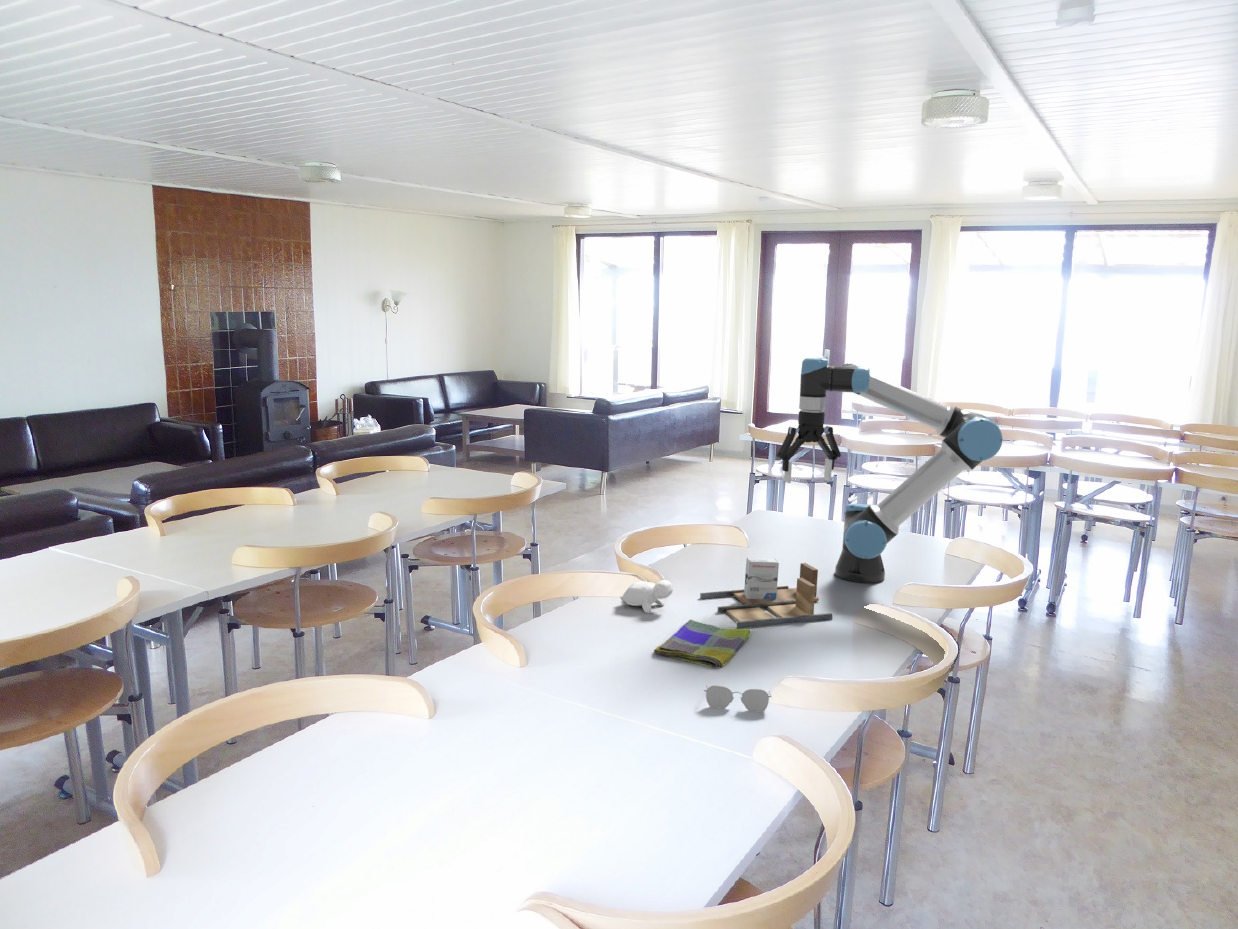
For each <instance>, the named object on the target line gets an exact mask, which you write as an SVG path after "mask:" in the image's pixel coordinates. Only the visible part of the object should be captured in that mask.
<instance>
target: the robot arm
mask: <svg viewBox="0 0 1238 929" xmlns="http://www.w3.org/2000/svg"><path fill="white" fill-rule="evenodd" d="M799 387H800V389H799V404H798V409H799V412H798V417H797V418H798V419H797V420H798V421H797V422H798V426H797V428H795V427H793V426H789V427H788V429H787V434H786V436H785V438H784V440H783V443H782V445H781V447H780V448H779V451H778V452H777V454H776V458H778V459H780V460H782V465H781V466H782V468H781V470H782V471H783V472H784V475H783V482H785V483H787V484H791V483H792V481H791V480H792V469H793V468H792V466H793V461H792V460H791V459H792V457H793V456H795V454H796V453H797V452H798V450H799V449H800V447H801V446H802V445H803V444H804V443H817V445H818V446H819V447H820V448H821V450H822V451H823V453H824V454H825V455H826V457H827V458H825V459H824V473H823V480H824V481H827V482H832V471H834V468H835V461H837V459H838V458H840V457H841V456H842V454H841V451H840V448H839V446H838V443H837V440H836V437H835V435H834V428H833V426H829V425H827V426H824V424H825V416H826V415H825V414H826V413H825V412H824V411H825V410H826V398H827V392H837V393H838V392H839V393H840V392H841V393H853V394H855V395H858V396H860V397H863V398H864V399H867V400H869V401H871V402H874V403H876V404H878V405H880V406H882V407H884V408H887V409H889V410H891V411H892V412H896V413H897V414H899V415H902V416H905V417H907V418H909V419H911V420H914V421H915V422H917V423H920V424H923V425H924V426H927V427H929V428H931V429H933V430H935V431H936V433H937V435H938V436H940V437H943V439H942V440H941V447H940V449H939V450H938V451H937V452H936V453H935V454H934V455H933V456H931V457H930V458H928V460H927V461H925V462H924V463H923V464H922V465H921V466H920V467H919V468H917V469H916V470H915V471H914V472H913V473H912V474H911V475H910V476H908V478H906V479H905V480H904V481H903V482H902V483H901V484H900V485H898V486H897V487H896V488H895V489H894V490H893V491H892V492H891V493H889V495H886V497H885V498H884V499H883V500H882V501H880V502H879V503H878V504H870V503H869V504H864V503H848V504H846V505H845V510H844V512H843V513H844V521H843V523H844V525H843V533H842V534H843V537H842V549H841V553H840V555H839V558H838V560H837V563H836V565H835V569H834V571H835V573H834V574H835V575H836V576H837V577H839V578H840V579H843V580H846V581H850V582H856V583H867V584H868V583H870V584H871V583H880V582H882V581H884V580H885V578H886V570H885V566H884V562H883V559H882V553H883V552H884V550H885V548H886V547H887V544H889V542H891V541H892V540H893V539H894V538H895V537H896V536H897V535H898V534H899V530H900V526H901V525H902V524H903V523H904V522H905V521H907V520H908V519H909V518H910V517H911V516H912V515H914V514H915V513H916V512H918V510H919V509H921V508H922V507H923V506H924V505H925V504H926V503H927V502H929V501H930V500H931V499H932V498H933V497H934V496H935V495H937V493H939V492H940V491H941V490H942V489H943V488H944V487H946V486H947V485H948V484H950V482H951V481H953V480H954V479H955V478H956V477H957V476H958V475H960V474H961V473H962V472H964V471H973V470H974V469H975V468H976V467H978V465H980V464H981V463H982V462H984V461H987V460H990V459H991V458H994V457H995V456H996V455H997V454H998V453H999V451H1000V450H1001V447H1002V445H1003V434H1002V431H1001V428H1000V427H999V425H998V424H997V422H995V421H994V420H993V419H991V418H989V417H987V416H986V415H983V414H980V413H977V412H973V411H969V410H966V409H963V408H961V407H958V406H955V405H950V406H947V405H945V404H942V403H940V402H938V401H935V400H933V399H931V398H929V397H926V396H924V395H922V394H920V393H917V392H915V391H913V390H911V389H908V388H906V387H904V386H901V385H899V384H897V383H894V382H892V381H890V380H887V379H886V378H883V377H881V376H879V375H876V374H874V373H873V372H871V371H870V368H869V367H866V366H861V365H859V366H857V365H855V364H854V363H844V364H842V365H839V366H838V365H830V364H829V360H828V359H827V358H815V357H810V358H809V357H807V358H806V357H805V359H803V360H802V362H801V372H800V386H799ZM823 434H825V437H826V440H827V442H828V444H827V443H826V440H825V438H824V437H823ZM796 435H797V437H796ZM795 437H796V438H795Z"/></svg>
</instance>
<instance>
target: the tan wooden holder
mask: <svg viewBox="0 0 1238 929" xmlns="http://www.w3.org/2000/svg"><path fill="white" fill-rule="evenodd" d="M799 565H800V566H799V578H803V579H805V580H807V581H808V582H810V583H812V584H814V585H815V601H814V602H819V601H820V598H819V597H818V596H817V590H818V572H819V570H818V569H817V568H815V567H813V566H812V565H811V564H809V563H807V562H801V563H800V564H799ZM796 590H797V587H793V588H791V587H790V588H788V589H778V590H777V595H776V599H747V598H746V597H745V595H744V592H743V593H734V596H733V597H734V598H736V599H737V600H739V601H740V602H741V603H743V604H754V603H766V602H777V601H788V600H796Z"/></svg>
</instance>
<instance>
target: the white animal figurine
mask: <svg viewBox="0 0 1238 929" xmlns="http://www.w3.org/2000/svg"><path fill="white" fill-rule="evenodd" d="M673 591H674V588H673V585H672V583H671V582H670V581H669V580H667V579H662V580H659V581H658V582H655V583H654V582H648V581H643V580H642V581H641V580H640V581H636V582H634V583H632V584H630V585H629V587H627V589H626V590H625V592H624V593H623V595H621V596H619V598H620V600H621V605H622V607H624V606H625V605H626V604H627V605H629V606H636V607H642V610H643V612H644V613H645V614H651V613H652V606H651V605H653V604H656V605H658V606H659V607H663V606H664V605H665V602H664V600H663V599H667V598H669V597H670V596H671V595H672V594H673Z"/></svg>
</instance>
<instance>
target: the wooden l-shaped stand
mask: <svg viewBox="0 0 1238 929" xmlns="http://www.w3.org/2000/svg"><path fill="white" fill-rule="evenodd" d="M796 588H797V590H796V604H790V605H779V606H768V607H767V610H768V611H769V612H770V613H772V614H773V615H775V616H776V617H777V618H782V617H793V616H803V615H813V614H815V602H816V601H815V585H814V584H812V583H810V582H808V581H807V580H805V579H803V578H800V577H799V578H797V579H796ZM770 613H768V612H767V611H765V609H761V608H760V607H757V608H746V609H736V610H726V612H725V614H726V615H728V616H729V617H730V618H732V619H734V620H735V622H736V623H737V622H741V621H752V620H762V619H772V618H775V617H774V616H773V615H771V614H770Z"/></svg>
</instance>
